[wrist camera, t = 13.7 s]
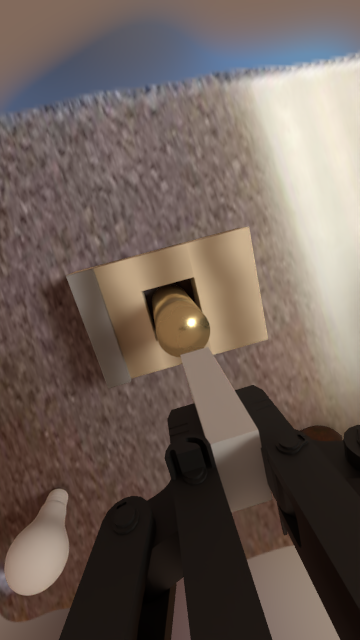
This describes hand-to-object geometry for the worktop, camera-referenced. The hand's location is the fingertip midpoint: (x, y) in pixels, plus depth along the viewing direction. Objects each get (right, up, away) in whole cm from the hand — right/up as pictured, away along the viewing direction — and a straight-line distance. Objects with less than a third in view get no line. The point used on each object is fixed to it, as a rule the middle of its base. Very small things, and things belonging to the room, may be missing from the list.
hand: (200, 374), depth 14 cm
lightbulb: (-17, -20, +23) cm, 35 cm away
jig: (-2, +5, +18) cm, 18 cm away
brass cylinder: (-2, +5, +18) cm, 18 cm away
